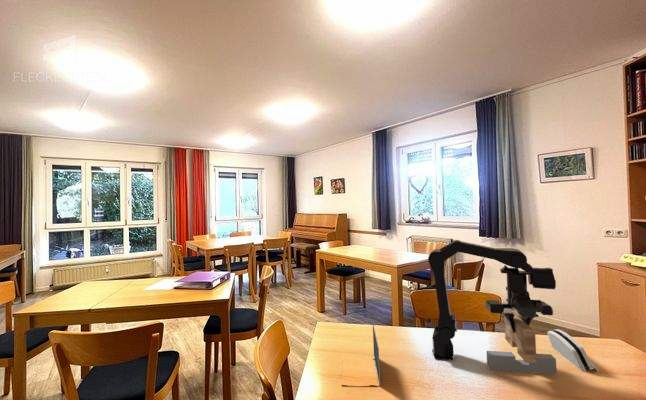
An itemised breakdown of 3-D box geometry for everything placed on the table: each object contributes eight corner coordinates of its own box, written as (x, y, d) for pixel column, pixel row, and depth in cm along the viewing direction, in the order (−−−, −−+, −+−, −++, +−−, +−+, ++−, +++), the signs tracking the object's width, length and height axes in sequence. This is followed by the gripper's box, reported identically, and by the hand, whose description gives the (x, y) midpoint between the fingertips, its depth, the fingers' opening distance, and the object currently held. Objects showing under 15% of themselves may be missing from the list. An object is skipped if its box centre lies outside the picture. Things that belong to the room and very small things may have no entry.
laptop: (342, 358, 113) (340, 324, 113) (375, 358, 112) (373, 323, 112) (341, 387, 95) (339, 347, 95) (380, 388, 94) (379, 347, 94)
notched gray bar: (490, 369, 101) (489, 355, 101) (487, 364, 104) (486, 350, 104) (556, 374, 97) (555, 359, 97) (551, 369, 100) (550, 354, 100)
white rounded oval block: (599, 372, 97) (586, 343, 97) (584, 376, 98) (571, 347, 98) (566, 347, 113) (555, 322, 114) (553, 351, 114) (543, 326, 115)
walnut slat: (505, 338, 108) (504, 311, 108) (514, 339, 108) (513, 312, 108) (525, 362, 93) (524, 330, 93) (536, 363, 92) (535, 331, 92)
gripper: (495, 293, 94) (497, 341, 94) (562, 294, 91) (564, 345, 91) (484, 283, 105) (485, 327, 105) (542, 284, 102) (544, 329, 101)
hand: (518, 332), depth 100 cm, fingers closed on walnut slat, 3 cm apart
